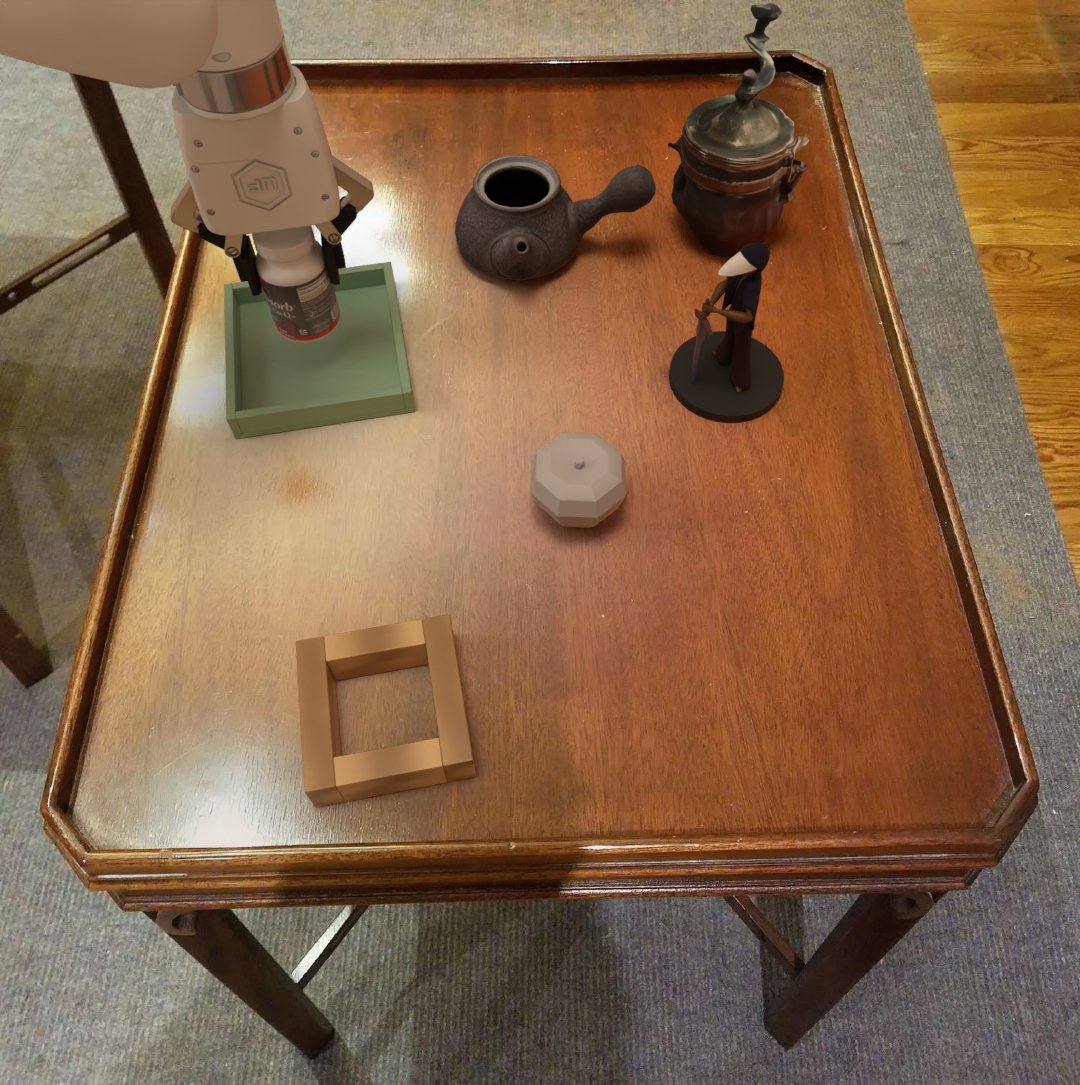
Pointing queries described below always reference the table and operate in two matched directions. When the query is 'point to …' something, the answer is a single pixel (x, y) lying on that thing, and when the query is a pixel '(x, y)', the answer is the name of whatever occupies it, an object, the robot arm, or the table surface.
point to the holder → (390, 766)
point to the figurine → (729, 350)
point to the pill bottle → (296, 284)
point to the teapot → (536, 215)
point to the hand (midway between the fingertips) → (295, 277)
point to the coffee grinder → (738, 158)
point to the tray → (316, 360)
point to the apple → (578, 479)
